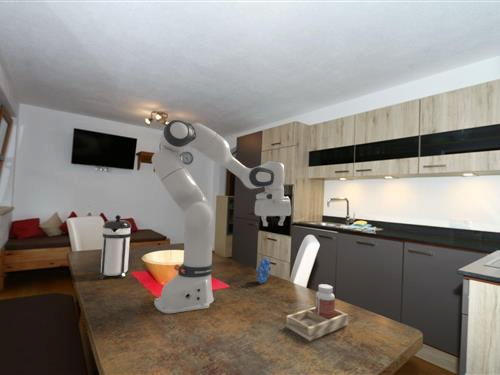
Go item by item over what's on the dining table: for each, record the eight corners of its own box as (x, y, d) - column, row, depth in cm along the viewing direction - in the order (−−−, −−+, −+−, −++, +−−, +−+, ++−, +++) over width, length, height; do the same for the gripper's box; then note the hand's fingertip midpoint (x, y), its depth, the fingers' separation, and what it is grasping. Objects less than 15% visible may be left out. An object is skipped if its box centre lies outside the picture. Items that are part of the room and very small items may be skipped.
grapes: (261, 278, 138) (262, 255, 138) (273, 280, 134) (274, 257, 135) (249, 283, 128) (250, 258, 128) (261, 286, 124) (263, 260, 125)
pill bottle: (338, 321, 89) (339, 287, 89) (325, 325, 85) (326, 290, 86) (323, 313, 94) (324, 282, 94) (311, 317, 90) (312, 284, 91)
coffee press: (138, 274, 134) (142, 215, 135) (107, 282, 120) (112, 216, 122) (119, 268, 143) (122, 213, 145) (88, 275, 130) (92, 214, 131)
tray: (310, 340, 77) (310, 328, 78) (286, 326, 85) (286, 315, 86) (347, 324, 89) (347, 314, 89) (323, 313, 97) (323, 304, 97)
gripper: (285, 196, 132) (284, 224, 131) (253, 194, 120) (251, 225, 119) (294, 197, 127) (293, 225, 126) (261, 195, 115) (260, 227, 114)
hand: (273, 225), depth 122 cm, fingers open, 8 cm apart
